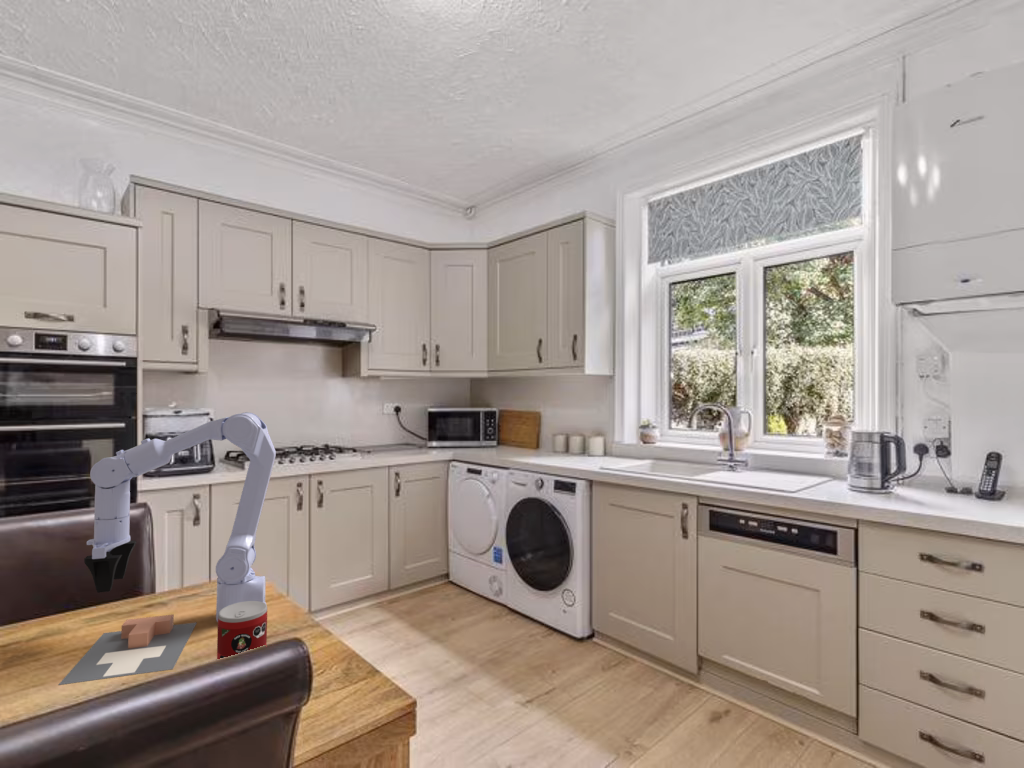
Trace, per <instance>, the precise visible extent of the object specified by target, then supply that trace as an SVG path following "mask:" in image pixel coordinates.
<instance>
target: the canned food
mask: <svg viewBox="0 0 1024 768" xmlns="http://www.w3.org/2000/svg"><path fill="white" fill-rule="evenodd" d="M267 634H268V605H267V603H266V604H265V603H263V602H259V601H245V602H239V603H235V604H232V605H229V606H227V607H225V608H223V609H222V610H220V612H219V616H218V622H217V636H216V637H217V640H216V642H217V643H216V644H217V645H216V646H217V648H216V651H217V652H216V660H217V659H220V658H224V657H228V656H231V655H235V654H238V653H241V652H244V651H247V650H250V649H254V648H257V647H260V646H263V645H266V646H267V639H268V637H267V636H268V635H267Z"/></svg>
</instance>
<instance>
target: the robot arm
mask: <svg viewBox="0 0 1024 768" xmlns="http://www.w3.org/2000/svg"><path fill="white" fill-rule="evenodd" d="M210 440H213V441H226V440H227V441H229V442H230V443H231V444H233V445H235V446H237V447H238V448H239V449H240V450H241V451H243V453H244V455H246V457H247V458H248V459H249V464H248V468H247V472H246V475H245V476H246V477H245V480H244V483H243V487H242V491H241V495H240V498H239V503H238V507H237V510H236V514H235V518H234V521H233V526H232V530H231V534H230V537H229V539H228V541H227V545H226V547H225V550H224V553H223V555H221V557H220V558H219V559H218V560H217V562H216V565H215V573H216V576H217V579H216V606H215V607H216V610H215V611H216V612H215V619H216V623H218V616H219V612H220V610H222V609H223V608H225V607H227V606H229V605H232V604H235V603H239V602H245V601H259V602H263V603H265V604H266V605H267V602H266V576H265V575H262V576H259V575H256V572H255V570H254V569H253V568H252V565H253V564H254V563H255V561H256V559H257V552H256V548H255V543H256V539H257V531H258V526H259V522H260V518H261V515H262V511H263V507H264V503H265V499H266V496H267V492H268V487H269V484H270V481H271V480H270V479H271V475H272V471H273V468H274V463H275V460H276V455H277V451H276V449H275V446H274V443H273V441H272V438H271V436H270V433H269V430H268V425H267V424H266V423H265V422H264V420H262V419H261V418H260V417H259V415H257V414H255V413H254V412H248V411H246V412H242V413H235V414H233V415H231V416H227V417H222V418H218V419H215V420H211V421H207V422H205V423H203V424H201V425H199V426H197V427H194V428H192V429H190V430H187V431H186V432H183V433H181V434H179V435H176V436H174V437H172V438H169V439H167V440H162V439H159V438H153V439H150V438H146V439H143V440H141V441H140V443H141V444H139V445H136V446H134V447H131V448H129V449H126V450H124V449H120V450H119V451H116V452H115V454H116V455H115V456H111V457H103V458H101V459H100V460H99V461H97V462H96V463H94V464H93V466H92V467H91V469H90V474H89V475H90V476H89V477H90V479H91V482H93V484H94V485H95V486H94V487H95V488H94V489H95V490H94V517H93V518H94V520H93V521H94V525H93V526H94V527H93V531H94V532H93V538H92V539H88V540H87V541H86V546H92V547H93V548H92V550H91V555H87V556H85V557H84V558H83V559H84V560H83V562H84V564H85V566H86V567H87V568H88V570H89V572H90V574H91V576H92V579H93V583H94V587H95V590H96V593H99V594H100V593H107V592H111V590H112V589H113V585H114V580H121V579H124V578H125V575H126V573H127V572H126V571H127V568H128V564H129V560H130V557H131V555H132V552H133V550H134V548H135V547H136V545H137V541H136V540H131V535H130V527H131V526H130V525H131V524H130V520H131V515H130V512H131V508H130V507H131V492H130V491H131V480H132V479H133V478H137V477H139V476H141V475H144V474H147V473H149V472H151V471H154V470H156V469H158V468H161V467H163V466H165V465H168V464H169V463H170V461H171V459H172V457H173V456H174V454H177V453H179V452H182V451H184V450H187V449H189V448H192V447H194V446H197V445H200V444H202V443H204V442H207V441H210Z"/></svg>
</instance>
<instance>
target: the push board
mask: <svg viewBox="0 0 1024 768" xmlns="http://www.w3.org/2000/svg"><path fill="white" fill-rule="evenodd" d="M196 625H197V622H196V621H195V622H189V623H180V624H173V628H172V630H171V632H170V633H167V634H158V635H154V637H153V638H152V640H151V641H150V643H149V644H148V646H145V647H137V648H129V649H128V638H125V639H121V630H120V631H111V632H110V631H109V632H103V633H102V635H101V636H100V637H99V638H98V639H97V640H96V641H95V642H94V644H93V645H91V647H90V648H89V649H88V651H87V652H86V653H85V654H84V655H83V656H82V657H81V658H80V660H79V661H78V662H77V663H76V664H75V665H74V666H73V667H72V668H71V670H70V671H69V672H68V673H67V674H66V675H65V677H64V678H63V679H62V680H61V681H60V682H59V683H58V686H61V685H63V686H64V685H69V684H71V685H72V684H76V683H83V682H90V681H99V680H105V679H106V680H107V679H113V678H114V679H115V678H118V677H119V678H121V677H126V676H134V675H142V674H148V673H155V672H162V671H163V672H164V671H169V670H174V668H175V667H176V663H177V662H178V660H179V658H180V656H181V655H182V653H183V651H184V650H185V649H184V648H185V646H186V644H187V643H188V642H189V641H188V640H189V639H190V637H191V635H192V633H193V631H194V630H195V627H196Z"/></svg>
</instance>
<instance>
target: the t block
mask: <svg viewBox="0 0 1024 768" xmlns="http://www.w3.org/2000/svg"><path fill="white" fill-rule="evenodd" d="M174 618H175V617H174V614H166V615H158V616H149V617H148V616H147V617H138V618H129V619H126V620H125V621H124V622H123V623H122V625H121V630H120V631H121V639H125V638H128V649H129V648H137V647H145V646H148V644H149V643H150V641H151V640H152V638H153V637H154V635H158V634H167V633H170V632H171V630H172V628H173V625H174V621H175V620H174Z"/></svg>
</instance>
